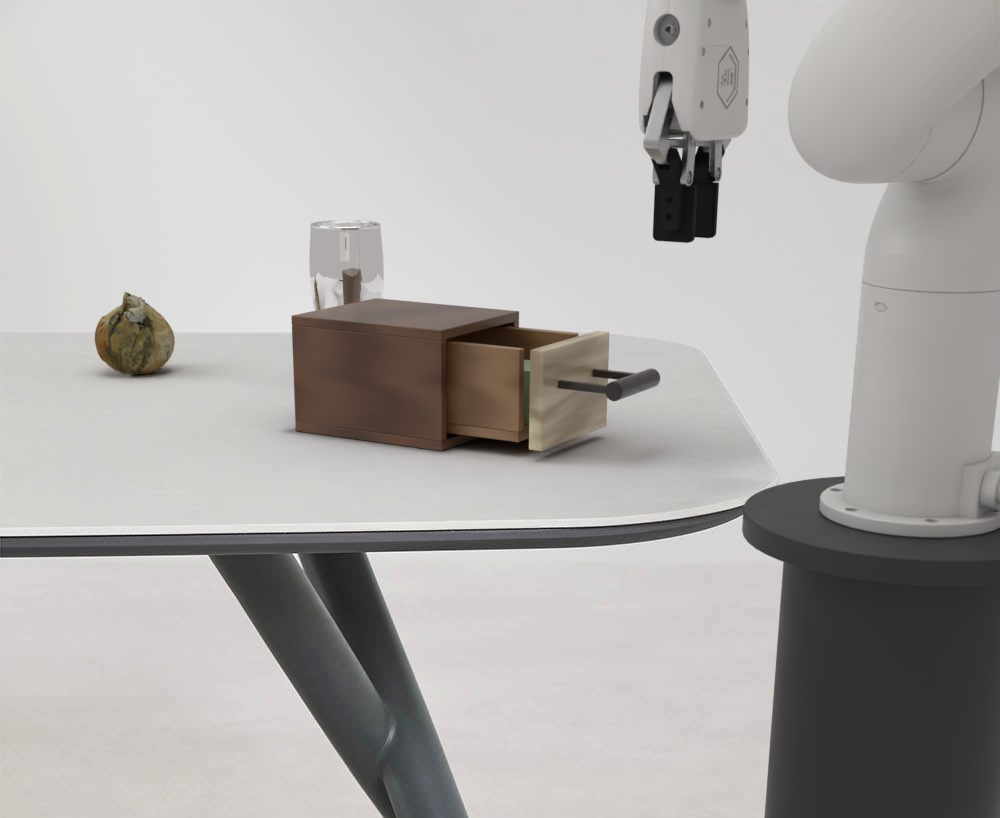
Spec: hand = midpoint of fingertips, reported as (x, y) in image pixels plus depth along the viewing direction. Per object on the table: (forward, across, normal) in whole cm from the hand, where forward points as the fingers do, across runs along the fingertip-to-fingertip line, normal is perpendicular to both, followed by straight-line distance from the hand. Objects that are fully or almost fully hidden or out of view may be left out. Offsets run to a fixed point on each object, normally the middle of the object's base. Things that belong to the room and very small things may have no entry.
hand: (684, 236), depth 129 cm
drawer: (+16, 0, +13) cm, 21 cm away
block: (+15, 0, +14) cm, 20 cm away
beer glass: (+17, +13, +40) cm, 46 cm away
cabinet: (+17, 0, +25) cm, 30 cm away
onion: (+17, +8, +62) cm, 65 cm away
